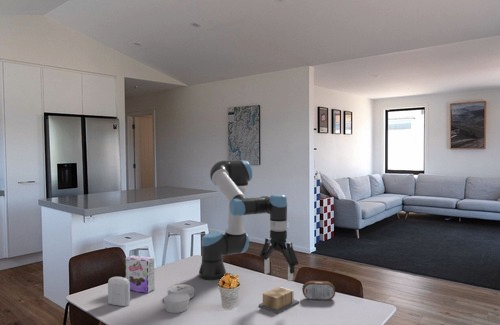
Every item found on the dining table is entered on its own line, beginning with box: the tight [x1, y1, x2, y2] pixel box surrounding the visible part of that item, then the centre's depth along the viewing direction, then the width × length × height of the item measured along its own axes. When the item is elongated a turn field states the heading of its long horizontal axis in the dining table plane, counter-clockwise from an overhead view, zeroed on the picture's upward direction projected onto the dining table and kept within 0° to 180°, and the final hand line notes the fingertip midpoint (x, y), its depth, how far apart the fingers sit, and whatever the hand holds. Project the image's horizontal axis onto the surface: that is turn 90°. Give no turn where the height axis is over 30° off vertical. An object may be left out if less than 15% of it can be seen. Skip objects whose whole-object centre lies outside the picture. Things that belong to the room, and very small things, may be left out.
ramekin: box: [163, 293, 191, 314], centre depth 161 cm, size 11×11×5 cm
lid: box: [166, 283, 195, 299], centre depth 175 cm, size 13×13×5 cm
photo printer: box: [107, 276, 131, 307], centre depth 167 cm, size 10×4×12 cm, turn 72°
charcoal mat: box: [258, 299, 300, 314], centre depth 165 cm, size 11×15×1 cm
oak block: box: [262, 286, 295, 310], centre depth 164 cm, size 8×5×12 cm
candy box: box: [124, 255, 156, 294], centre depth 184 cm, size 14×6×16 cm, turn 68°
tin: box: [302, 280, 336, 301], centre depth 170 cm, size 15×3×8 cm, turn 84°
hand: (278, 276), depth 165 cm, fingers open, 13 cm apart
